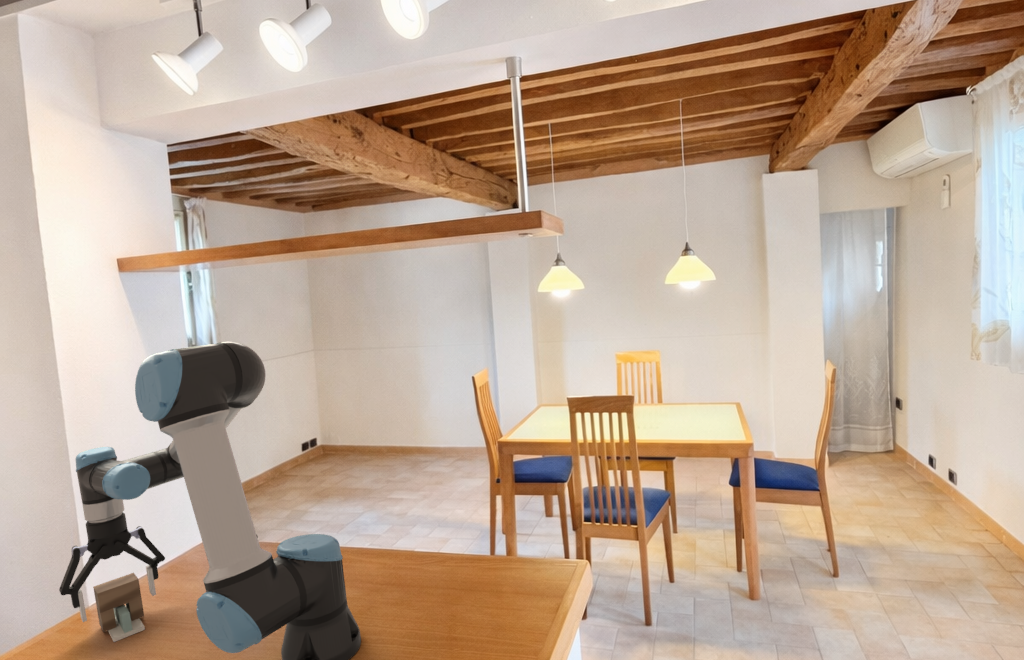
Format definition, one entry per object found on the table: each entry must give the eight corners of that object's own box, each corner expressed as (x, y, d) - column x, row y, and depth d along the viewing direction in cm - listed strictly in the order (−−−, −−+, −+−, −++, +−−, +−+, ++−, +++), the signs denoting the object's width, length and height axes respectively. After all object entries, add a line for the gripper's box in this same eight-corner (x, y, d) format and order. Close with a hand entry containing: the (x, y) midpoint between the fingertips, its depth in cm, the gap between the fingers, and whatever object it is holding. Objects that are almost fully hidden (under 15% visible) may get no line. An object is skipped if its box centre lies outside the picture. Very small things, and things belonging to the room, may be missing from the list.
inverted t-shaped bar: (144, 629, 137) (141, 609, 137) (113, 642, 133) (110, 621, 133) (130, 606, 148) (127, 587, 148) (101, 617, 144) (97, 598, 144)
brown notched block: (144, 616, 142) (138, 579, 141) (103, 632, 136) (97, 593, 135) (139, 608, 145) (133, 572, 144) (99, 624, 140) (93, 586, 139)
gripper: (162, 495, 150) (175, 579, 152) (34, 531, 133) (50, 624, 135) (170, 502, 144) (183, 588, 146) (37, 540, 127) (54, 637, 129)
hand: (119, 606), depth 140 cm, fingers open, 13 cm apart
